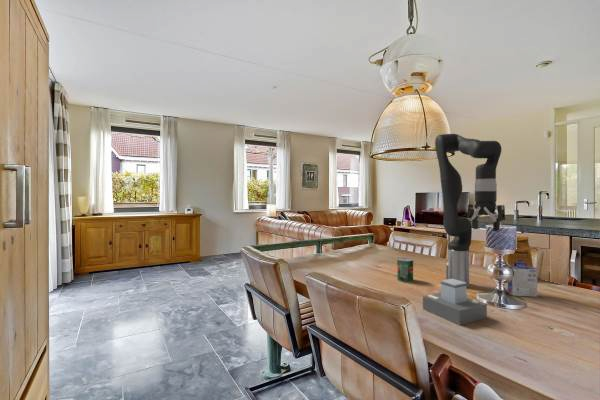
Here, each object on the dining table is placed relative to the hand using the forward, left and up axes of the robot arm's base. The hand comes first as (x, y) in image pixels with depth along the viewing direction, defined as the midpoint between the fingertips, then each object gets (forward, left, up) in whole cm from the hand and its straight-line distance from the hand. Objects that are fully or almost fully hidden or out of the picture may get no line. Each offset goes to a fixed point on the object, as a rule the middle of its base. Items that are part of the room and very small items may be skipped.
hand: (485, 230), depth 121 cm
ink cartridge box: (0, +24, -30) cm, 39 cm away
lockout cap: (+2, -21, -25) cm, 32 cm away
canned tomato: (-39, -6, -30) cm, 50 cm away
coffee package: (-17, +50, -30) cm, 61 cm away
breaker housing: (+2, -21, -30) cm, 36 cm away
